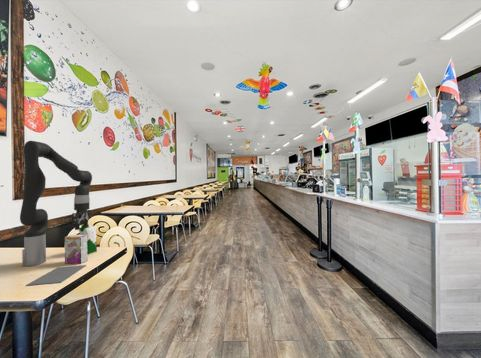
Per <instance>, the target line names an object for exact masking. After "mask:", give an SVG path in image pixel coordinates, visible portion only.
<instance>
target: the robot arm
mask: <svg viewBox="0 0 481 358" xmlns="http://www.w3.org/2000/svg"><path fill="white" fill-rule="evenodd" d="M39 158H44V159H46V160H49V161H50V162H52V163H53V165H54V166H55V167H56V168H57V169H58V170H60V171H62V172H63V173H65V174H67V176H68V177H69V178H70V179H72V180H73V181H74V182H79V184H78V185H76V186H75V187H74V198H73V199H74V200H73V203H74V204H73V210H74V211H76V212H72V213H71V215H72V216H71V224H74V230H75V231H79V229H80V228H81V225H80V224H81V221H82V220H83V225H84V227H87V226H88V224H89V220H90V219H91V209H90V201H91V200H90V187H91V184H92V182H93V181H92V180H93V174H92V173H91V171H89V170H83V169H79V168H78V166H77V165H76V164H75V163H73V162H72V161H69V160H68V159H66V158H65V157H64V156H62V155H61V154H59V153H58V152H57V151H56V150H55V149H53V148H52V147H51V146H50V145H49V144H47V143H45V142H40V141H35V140H28V141H27V142H25V143H24V145H23V160H24V161H23V162H24V177H23V194H22V195H23V196H22V197H23V198H22V203H21V204H22V205H21V208H20V212H19V213H20V214H19V221H20V223H21V225H23V226H26V227H29V226H30V227H29V229H27V230H25V232H24V233H23V237H24V238H23V241H24V243H23V248H24V249H22V250H21V254H22V255H21V256H22V257H21V259H22V260H21V261H22V266H24V267H30V266H31V267H32V266H36V265H41V264H44V263H45V262H46V261H47V246H46V245H47V244H46V243H47V241H46V240H47V239H46V237H47V236H46V235H47V230H48V224H49V223H48V222H49V215H48V212H47V210H46V209H43V208H37V204H38V201H39V199H40V198H41V196H42V195H43V193H44V191H45V189H46V175H45V174H44V172H43V170H42V169H41V167H40V164H39Z"/></svg>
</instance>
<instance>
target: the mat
mask: <svg viewBox="0 0 481 358" xmlns="http://www.w3.org/2000/svg"><path fill="white" fill-rule="evenodd" d="M86 267H87V264H79V265H72V266H71V265H70V266H59V267H56V268H54V269H52V270H51V271H50V270H49V272H46V273H45V274H43V275H42V276H39V277H37V278H36V279H34V280H32V281H30V282H29V283H27V284H25V287H31V286H40V285H52V284H61V283H63V282H64V281H66V280H67V279H69V278H70V277H72V276H73V275H75V274H76V273H78V272H79V271H81V270H82V269H84V268H86Z"/></svg>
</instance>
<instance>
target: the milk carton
mask: <svg viewBox="0 0 481 358" xmlns="http://www.w3.org/2000/svg"><path fill="white" fill-rule="evenodd" d="M97 230H98V226H97V225H89V223H88V226H87V227H84V224H81V225H80V229H79V230H78V233H79V235H87V255H90V254H92V253H95V252H98V245H97Z"/></svg>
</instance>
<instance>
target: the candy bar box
mask: <svg viewBox="0 0 481 358" xmlns="http://www.w3.org/2000/svg"><path fill="white" fill-rule="evenodd" d="M88 255H89V254H87V235H80V234H70V235H67V236H64V264H73V265H74V264H76V265H77V264H78V265H83V264H84V263H86V262H88Z"/></svg>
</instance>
